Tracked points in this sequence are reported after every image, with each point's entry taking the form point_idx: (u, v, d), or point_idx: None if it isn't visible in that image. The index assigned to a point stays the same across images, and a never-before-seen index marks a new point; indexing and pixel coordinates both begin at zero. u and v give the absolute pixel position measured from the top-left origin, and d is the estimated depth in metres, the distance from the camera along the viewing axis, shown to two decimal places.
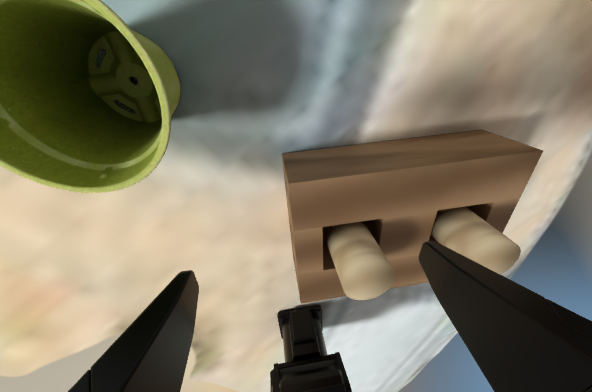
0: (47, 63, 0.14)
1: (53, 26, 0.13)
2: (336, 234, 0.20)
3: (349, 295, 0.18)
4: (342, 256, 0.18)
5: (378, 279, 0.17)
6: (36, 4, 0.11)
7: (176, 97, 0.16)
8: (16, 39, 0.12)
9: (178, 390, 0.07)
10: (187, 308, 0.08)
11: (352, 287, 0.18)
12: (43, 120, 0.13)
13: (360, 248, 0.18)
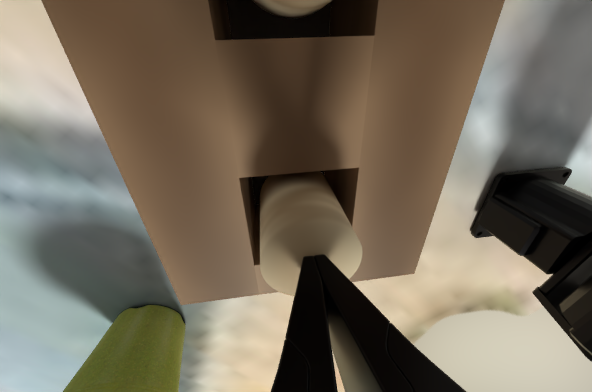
0: None
1: None
2: None
3: None
4: None
5: (305, 251, 0.09)
6: None
7: (143, 326, 0.19)
8: None
9: None
10: None
11: None
12: None
13: None
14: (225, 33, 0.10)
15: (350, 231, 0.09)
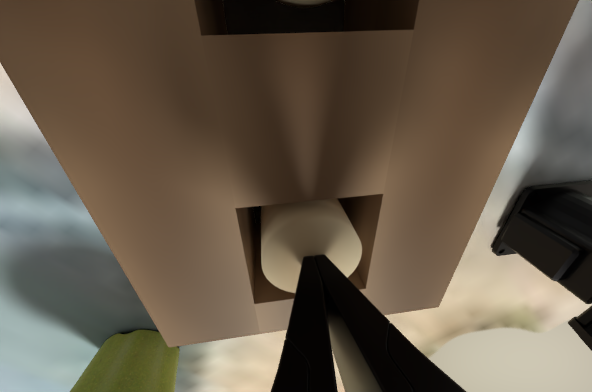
0: None
1: None
2: None
3: None
4: None
5: (305, 249, 0.09)
6: None
7: (130, 357, 0.18)
8: None
9: None
10: None
11: None
12: None
13: None
14: (218, 28, 0.08)
15: (350, 228, 0.09)
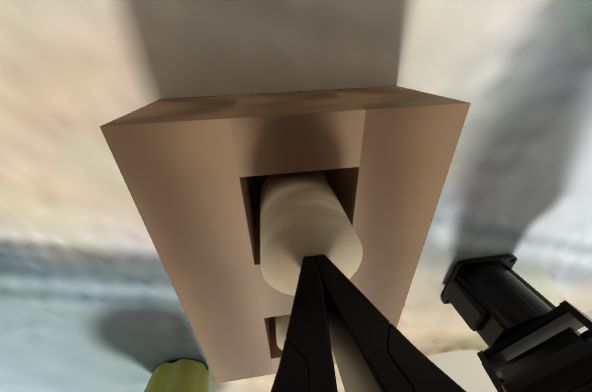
0: None
1: None
2: None
3: None
4: None
5: None
6: None
7: (178, 381, 0.25)
8: None
9: None
10: None
11: None
12: None
13: None
14: (254, 221, 0.15)
15: None
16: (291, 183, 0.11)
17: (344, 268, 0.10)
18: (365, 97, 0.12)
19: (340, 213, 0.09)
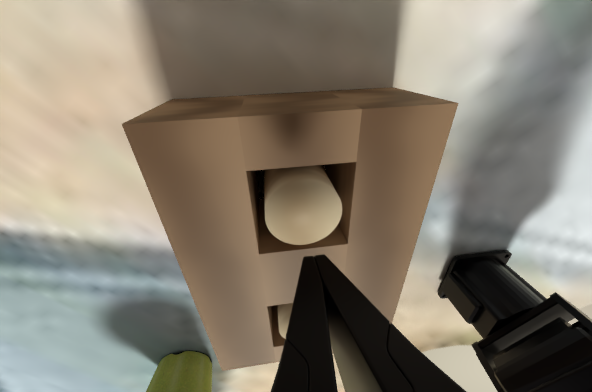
0: None
1: None
2: None
3: None
4: None
5: None
6: None
7: (183, 371, 0.26)
8: None
9: None
10: None
11: None
12: None
13: None
14: (258, 215, 0.16)
15: None
16: None
17: (328, 221, 0.13)
18: (362, 98, 0.12)
19: (325, 178, 0.12)
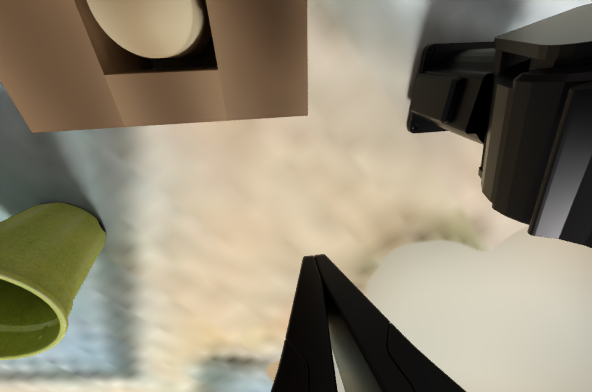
0: None
1: None
2: None
3: (177, 43, 0.11)
4: None
5: None
6: None
7: (41, 215, 0.18)
8: (4, 301, 0.18)
9: None
10: None
11: (155, 39, 0.10)
12: None
13: None
14: None
15: None
16: None
17: None
18: None
19: None
